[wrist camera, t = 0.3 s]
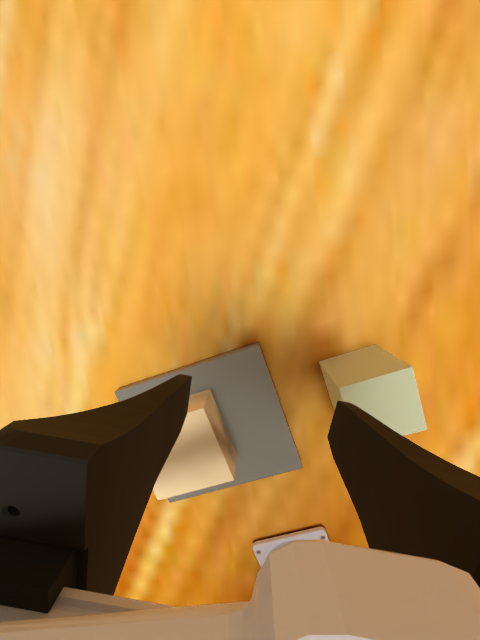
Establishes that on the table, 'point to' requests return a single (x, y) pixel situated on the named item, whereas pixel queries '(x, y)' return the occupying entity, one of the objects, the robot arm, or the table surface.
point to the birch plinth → (198, 451)
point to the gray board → (239, 412)
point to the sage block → (376, 387)
